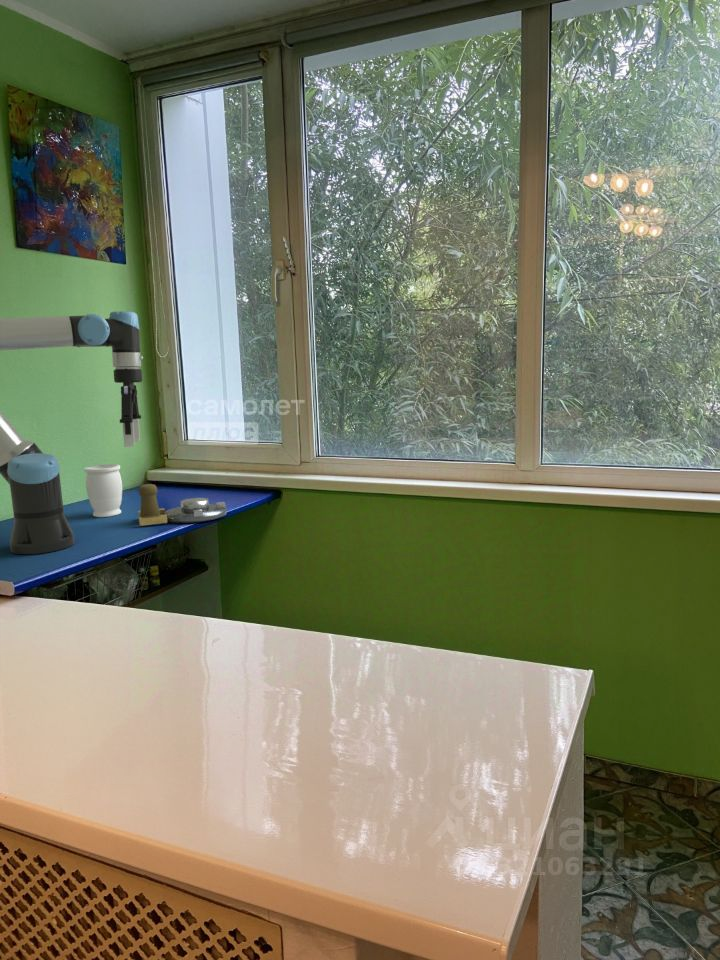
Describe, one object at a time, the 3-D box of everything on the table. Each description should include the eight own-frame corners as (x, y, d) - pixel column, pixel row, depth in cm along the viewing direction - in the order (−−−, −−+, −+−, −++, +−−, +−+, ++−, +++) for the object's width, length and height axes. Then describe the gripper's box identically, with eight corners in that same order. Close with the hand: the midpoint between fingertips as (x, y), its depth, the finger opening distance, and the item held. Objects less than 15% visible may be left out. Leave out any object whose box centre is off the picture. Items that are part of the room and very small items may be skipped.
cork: (139, 524, 201) (136, 487, 199) (140, 520, 207) (136, 483, 205) (161, 522, 203) (158, 485, 201) (161, 518, 209) (158, 481, 207)
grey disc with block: (222, 506, 219) (221, 492, 219) (230, 518, 203) (229, 502, 202) (138, 515, 212) (136, 500, 211) (140, 528, 195) (138, 512, 194)
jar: (117, 517, 212) (112, 468, 209) (83, 519, 212) (78, 469, 209) (129, 510, 222) (125, 463, 220) (97, 511, 222) (92, 464, 220)
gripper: (136, 368, 186) (141, 448, 189) (145, 368, 210) (150, 439, 213) (106, 368, 184) (112, 449, 188) (119, 368, 208) (124, 439, 212)
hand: (132, 444), depth 200 cm, fingers open, 13 cm apart
